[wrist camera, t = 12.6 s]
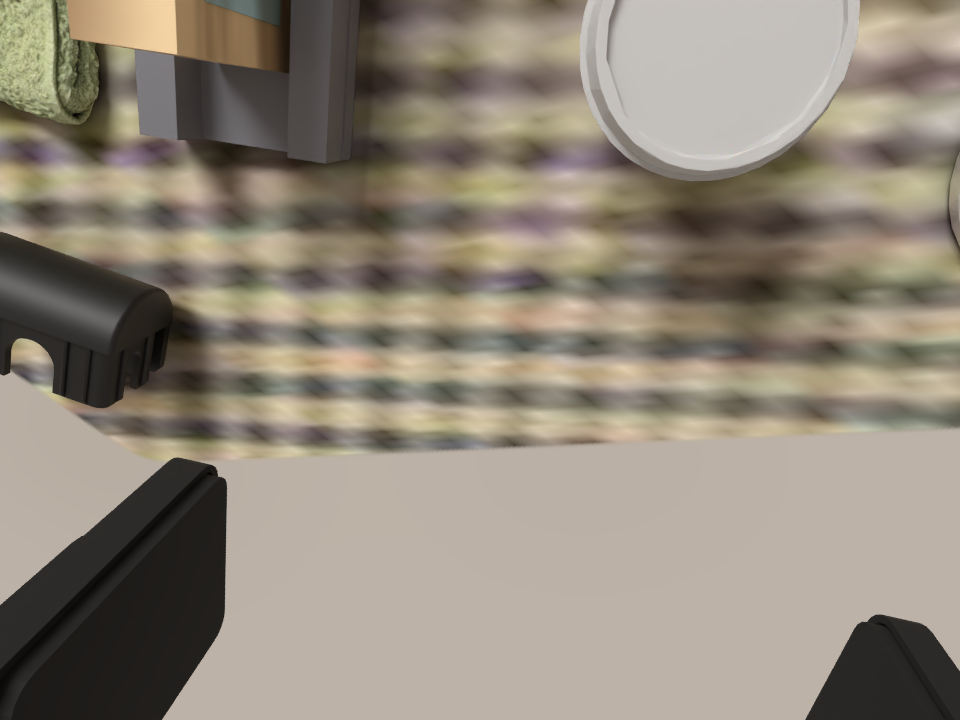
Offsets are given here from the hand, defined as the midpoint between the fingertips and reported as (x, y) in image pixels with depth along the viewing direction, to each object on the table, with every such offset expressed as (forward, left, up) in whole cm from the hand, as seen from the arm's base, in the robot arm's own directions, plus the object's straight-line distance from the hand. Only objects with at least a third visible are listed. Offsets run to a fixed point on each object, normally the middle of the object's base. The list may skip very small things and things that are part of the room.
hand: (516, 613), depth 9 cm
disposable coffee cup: (-5, -10, -29) cm, 31 cm away
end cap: (+27, +8, -29) cm, 41 cm away
